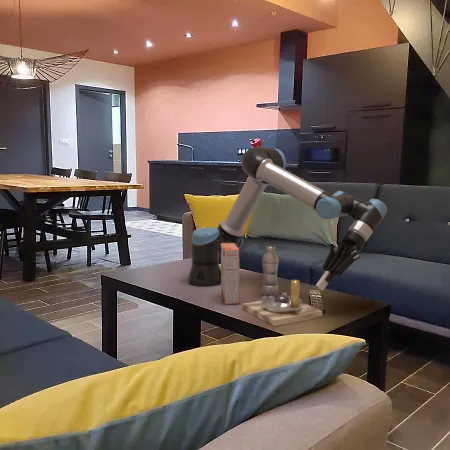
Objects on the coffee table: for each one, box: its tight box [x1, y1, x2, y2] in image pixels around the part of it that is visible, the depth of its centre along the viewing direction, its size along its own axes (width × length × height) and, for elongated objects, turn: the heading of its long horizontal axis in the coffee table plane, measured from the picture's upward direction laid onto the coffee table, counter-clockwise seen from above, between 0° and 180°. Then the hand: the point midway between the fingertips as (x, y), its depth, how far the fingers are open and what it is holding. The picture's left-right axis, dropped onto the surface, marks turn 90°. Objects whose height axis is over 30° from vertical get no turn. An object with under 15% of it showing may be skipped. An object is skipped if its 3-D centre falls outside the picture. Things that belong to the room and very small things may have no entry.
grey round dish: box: [261, 279, 303, 313], centre depth 164 cm, size 16×14×11 cm
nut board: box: [242, 300, 324, 327], centre depth 166 cm, size 20×20×2 cm
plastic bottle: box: [261, 244, 280, 296], centre depth 185 cm, size 6×7×20 cm
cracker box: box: [220, 243, 240, 305], centre depth 181 cm, size 14×6×21 cm, turn 6°
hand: (319, 287), depth 163 cm, fingers closed
